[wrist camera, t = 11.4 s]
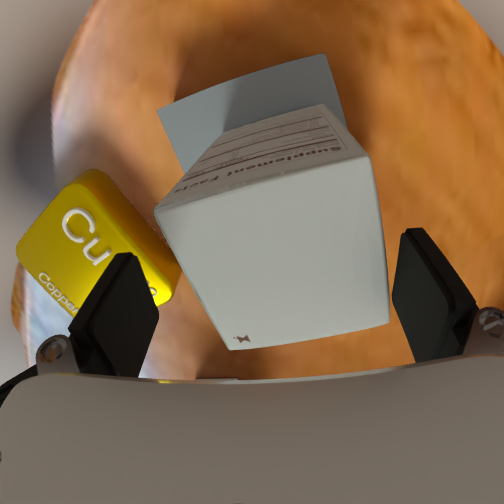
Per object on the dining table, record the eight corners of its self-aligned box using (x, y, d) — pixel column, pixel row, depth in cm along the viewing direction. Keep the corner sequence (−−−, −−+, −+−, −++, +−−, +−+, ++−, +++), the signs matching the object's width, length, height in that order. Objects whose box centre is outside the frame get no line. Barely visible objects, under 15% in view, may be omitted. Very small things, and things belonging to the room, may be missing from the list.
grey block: (313, 55, 21) (324, 52, 17) (349, 184, 27) (365, 208, 23) (174, 101, 24) (156, 110, 19) (225, 220, 30) (219, 249, 26)
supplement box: (349, 198, 22) (393, 329, 12) (253, 220, 24) (224, 356, 14) (326, 99, 18) (377, 152, 8) (219, 129, 20) (143, 213, 10)
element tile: (29, 233, 31) (7, 255, 27) (98, 158, 26) (72, 176, 22) (107, 316, 38) (94, 342, 34) (190, 269, 33) (181, 299, 29)
